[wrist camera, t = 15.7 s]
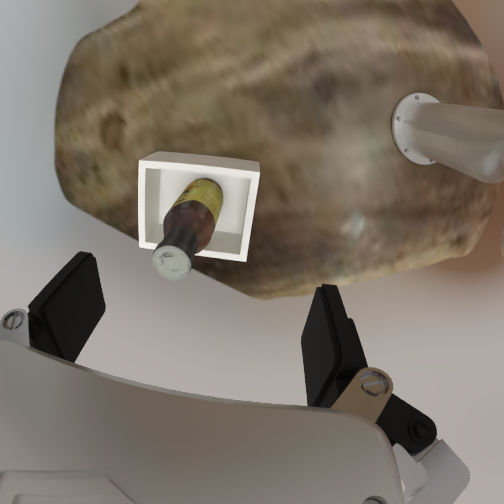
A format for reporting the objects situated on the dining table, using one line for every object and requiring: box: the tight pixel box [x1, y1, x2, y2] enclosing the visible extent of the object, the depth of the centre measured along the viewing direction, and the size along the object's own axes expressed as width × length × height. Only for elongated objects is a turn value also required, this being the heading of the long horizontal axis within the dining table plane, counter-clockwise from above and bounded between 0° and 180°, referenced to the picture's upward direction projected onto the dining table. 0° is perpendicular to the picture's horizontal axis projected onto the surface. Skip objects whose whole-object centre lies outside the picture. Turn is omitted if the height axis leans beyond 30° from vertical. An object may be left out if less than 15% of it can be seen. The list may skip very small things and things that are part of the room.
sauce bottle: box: [152, 178, 223, 280], centre depth 35 cm, size 7×6×20 cm
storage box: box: [138, 151, 260, 262], centre depth 41 cm, size 16×13×8 cm
